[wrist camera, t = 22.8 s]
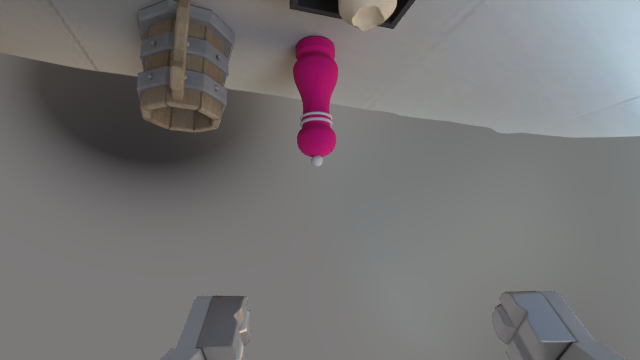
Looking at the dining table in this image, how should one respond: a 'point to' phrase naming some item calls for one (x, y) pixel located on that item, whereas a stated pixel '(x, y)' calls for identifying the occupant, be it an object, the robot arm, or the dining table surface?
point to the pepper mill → (316, 95)
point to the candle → (366, 12)
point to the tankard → (183, 66)
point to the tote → (326, 4)
